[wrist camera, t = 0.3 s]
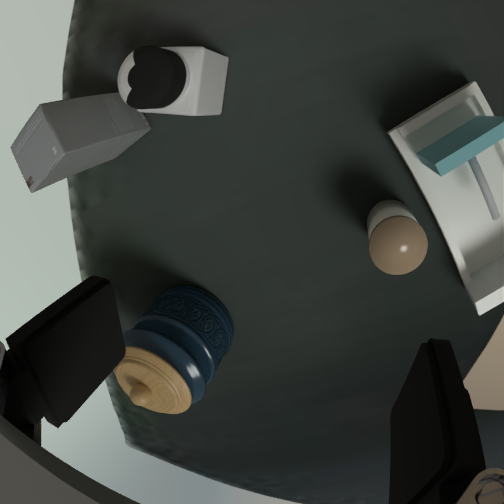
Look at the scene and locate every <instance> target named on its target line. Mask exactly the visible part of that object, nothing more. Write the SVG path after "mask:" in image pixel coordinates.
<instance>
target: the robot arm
mask: <svg viewBox="0 0 504 504" xmlns="http://www.w3.org/2000/svg"><path fill="white" fill-rule="evenodd" d="M6 341H7V344H8V346H9V348H10V349H9V350H7V351H6V349H5V346H4V344H3V343H2V342H1V341H0V504H140V503H138V502H135V501H133V500H131V499H129V498H127V497H125V496H123V495H121V494H119V493H117V492H115V491H113V490H111V489H109V488H107V487H106V486H104V485H102V484H100V483H98V482H96V481H95V480H93V479H91V478H89V477H88V476H86V475H84V474H83V473H81V472H79V471H78V470H76V469H74V468H73V467H71V466H70V465H68V464H66V463H65V462H63V461H62V460H60V459H59V458H57V457H56V456H54V455H53V454H51V453H50V452H48V451H47V450H45V449H44V448H43V447H41V419H42V418H43V417H45V418H46V420H47V421H48V422H49V423H51V424H52V425H54V426H55V427H57V428H59V427H60V426H61V424H62V423H63V422H67V421H68V420H69V419H70V418H71V417H72V416H73V415H74V414H75V412H76V411H77V410H78V409H79V408H80V407H81V406H82V404H83V403H84V402H85V401H86V400H87V399H88V398H89V396H90V395H91V394H92V393H93V392H94V391H95V390H96V389H97V388H98V386H99V385H100V384H101V383H102V382H103V381H104V380H105V379H106V377H107V376H108V375H109V374H110V373H111V372H112V371H113V370H114V368H115V367H116V366H117V365H118V364H119V363H120V362H121V361H122V360H123V358H124V356H125V353H126V347H125V343H124V338H123V334H122V329H121V325H120V320H119V315H118V310H117V305H116V300H115V294H114V289H113V286H112V285H111V284H110V282H109V280H108V279H105V278H102V277H98V276H90V277H89V278H87V279H86V280H84V281H83V282H81V283H80V284H79V285H77V286H76V287H74V288H73V289H72V290H70V291H69V292H67V293H66V294H65V295H63V296H62V297H60V298H59V299H58V300H56V301H55V302H54V303H52V304H51V305H49V306H48V307H47V308H45V309H44V310H43V311H41V312H40V313H39V314H37V315H36V316H35V317H33V318H32V319H31V320H29V321H28V322H27V323H25V324H24V325H23V326H21V327H20V328H19V329H18V330H16V331H15V332H14V333H13V334H11V335H10V336H9V337H7V338H6ZM390 427H391V462H390V491H389V504H504V470H502V469H498V468H490V469H486V465H485V460H484V455H483V449H482V445H481V440H480V435H479V431H478V426H477V422H476V418H475V414H474V410H473V406H472V403H471V399H470V395H469V393H468V390H466V389H465V387H464V384H463V380H462V377H461V374H460V370H459V367H458V364H457V361H456V358H455V355H454V351H453V348H452V345H451V343H450V341H449V340H443V339H433V338H431V339H429V340H428V342H427V343H422V344H421V346H420V348H419V350H418V353H417V355H416V358H415V360H414V363H413V365H412V367H411V369H410V372H409V374H408V376H407V379H406V381H405V383H404V385H403V387H402V389H401V392H400V394H399V396H398V398H397V400H396V402H395V404H394V406H393V408H392V411H391V417H390Z"/></svg>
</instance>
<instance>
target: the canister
mask: <svg viewBox="0 0 504 504" xmlns="http://www.w3.org/2000/svg"><path fill="white" fill-rule="evenodd" d="M233 333H234V327H233V322H232V319H231V317H230V314H229V313H228V311H227V309H226V308H225V307H224V305H223V304H222V303H221V302H220V301H219V300H218V299H217V298H215V297H214V296H213V295H211V294H210V293H208V292H206V291H204V290H202V289H200V288H197V287H193V286H186V285H182V286H176V287H173V288H171V289H169V290H167V291H165V292H163V293H162V294H161V295H160V296H159V297H158V298H157V299H156V300H155V301H154V303H153V305H152V306H151V307H150V308H149V309H148V310H147V311H146V312H145V313H144V314H143V315H142V316H141V317H139V318H138V319H137V320H136V321H135V322H134V323H133V324H132V326H131V328H130V330H128V331H126V332H124V333H123V338H124V343H125V347H126V353H125V356H124V358H123V360H122V361H121V362H120V363H119V364H118V365H117V366H116V367H115V368H114V370H113V371H114V373H115V375H116V377H117V380H118V382H119V384H120V386H121V387H122V389H123V390H124V391H125V392H126V393H127V394H128V395H129V396H130V399H131V401H132V402H133V403H134V404H136V405H138V406H143V407H145V408H147V409H150V410H152V411H156V412H161V413H168V414H178V413H182V412H184V411H186V410H187V409H188V408H189V407H190V405H192V404H195V403H197V402H198V401H200V400H201V399H202V397H203V396H204V394H205V390H206V385H208V384H209V383H210V382H211V381H212V379H213V377H214V375H215V371H216V369H217V367H218V365H219V364H220V362H221V360H222V358H223V356H224V355H225V354H226V353H227V352H228V350H229V348H230V346H231V343H232V338H233Z"/></svg>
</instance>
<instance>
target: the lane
mask: <svg viewBox="0 0 504 504" xmlns="http://www.w3.org/2000/svg"><path fill="white" fill-rule="evenodd" d="M478 115H479V116H494V114H493V113H492V111H491V109H490V107H489V105H488V103H487V101H486V99H485V97H484V96H483V94H482V92H481V90H480V89H479V87H478V85H477V83H476V82H470V83H468V84H466V85H464V86H463V87H461V88H459V89H457V90H456V91H454V92H452V93H451V94H449V95H447V96H446V97H444V98H442V99H441V100H439V101H437V102H436V103H434V104H432V105H431V106H429V107H427V108H426V109H424V110H422V111H421V112H419V113H417V114H416V115H414V116H412V117H411V118H409V119H407V120H406V121H404V122H402V123H401V124H399V125H397V126H396V127H394V128H393V129H391V130H389V131H388V132H387V134H388V135H389V137H390V138H391V140H392V142H393V143H394V145H395V146H396V148H397V150H398V151H399V153H400V155H401V156H402V158H403V160H404V162H405V163H406V165H407V167H408V168H409V170H410V172H411V174H412V175H413V177H414V179H415V181H416V183H417V185H418V186H419V188H420V190H421V192H422V194H423V196H424V198H425V200H426V202H427V203H428V205H429V207H430V209H431V211H432V213H433V215H434V217H435V219H436V222H437V224H438V226H439V228H440V230H441V232H442V234H443V236H444V239H445V241H446V243H447V245H448V248H449V250H450V252H451V254H452V257H453V259H454V262H455V264H456V266H457V269H458V271H459V274H460V276H461V279H462V281H463V284H464V287H465V289H466V291H467V293H468V295H469V297H470V299H471V301H472V303H473V305H474V307H475V308H476V310H477V312H478V314H479V316H480V315H481V314H483V313H485V312H487V311H488V310H490V309H492V308H494V307H495V306H497V305H499V304H500V303H502V302H504V138H503V139H501V140H500V141H498V142H497V143H495V144H494V145H492V146H490V147H489V148H487V149H486V150H484V151H482V152H481V153H479V154H478V155H476V159H477V161H478V163H479V165H480V167H481V169H482V172H483V174H484V176H485V178H486V181H487V183H488V185H489V188H490V190H491V193H492V195H493V198H494V200H495V203H496V206H497V208H498V211H499V214H500V218H499V219H497V220H493V219H492V217H491V214H490V211H489V209H488V206H487V204H486V201H485V199H484V196H483V194H482V192H481V189H480V187H479V185H478V182H477V180H476V178H475V176H474V174H473V171H472V169H471V167H470V165H469V163H468V161H466V162H465V163H463V164H461V165H460V166H458V167H457V168H455V169H453V170H452V171H450V172H448V173H447V174H445V175H443V176H442V177H441V176H439V175H438V174H437V173H435V172H434V171H432V170H431V169H429V168H428V167H426V166H425V165H423V164H422V163H421V162H420V160H419V158H418V156H417V155H416V153H417V152H419V151H421V150H422V149H424V148H426V147H427V146H429V145H431V144H432V143H434V142H435V141H437V140H439V139H440V138H442V137H444V136H445V135H447V134H449V133H450V132H452V131H454V130H455V129H457V128H458V127H460V126H462V125H463V124H465V123H467V122H468V121H470V120H472V119H473V118H475V117H477V116H478Z"/></svg>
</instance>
